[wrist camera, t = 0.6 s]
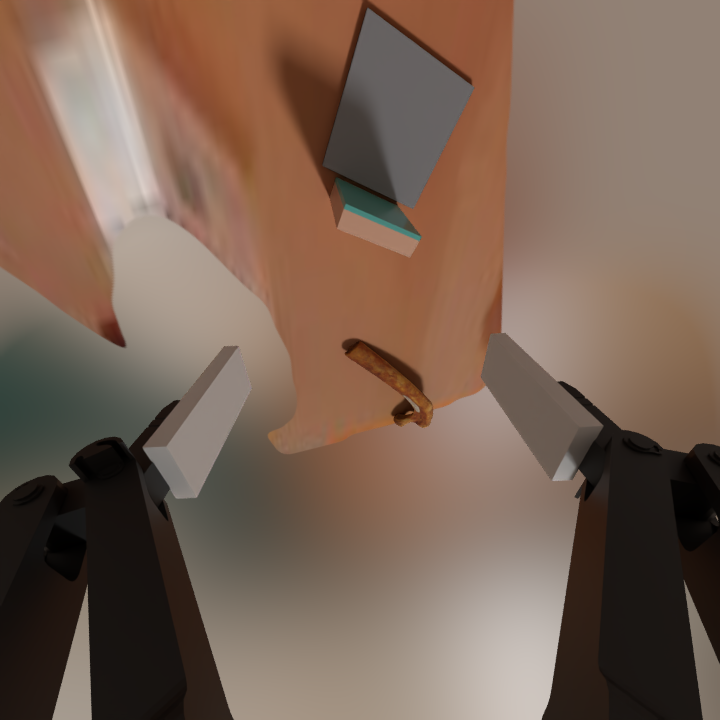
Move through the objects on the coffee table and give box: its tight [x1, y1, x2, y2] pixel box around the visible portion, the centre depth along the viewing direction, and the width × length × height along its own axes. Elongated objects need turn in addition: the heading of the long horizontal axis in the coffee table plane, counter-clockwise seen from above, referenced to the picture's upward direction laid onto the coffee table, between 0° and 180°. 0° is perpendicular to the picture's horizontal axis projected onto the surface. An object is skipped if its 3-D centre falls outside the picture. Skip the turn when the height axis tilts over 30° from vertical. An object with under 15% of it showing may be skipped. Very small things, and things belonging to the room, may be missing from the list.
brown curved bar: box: [345, 341, 433, 428], centre depth 64 cm, size 33×8×10 cm, turn 26°
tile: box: [330, 177, 421, 257], centre depth 33 cm, size 9×2×11 cm, turn 66°
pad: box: [322, 8, 474, 209], centre depth 32 cm, size 13×13×1 cm
